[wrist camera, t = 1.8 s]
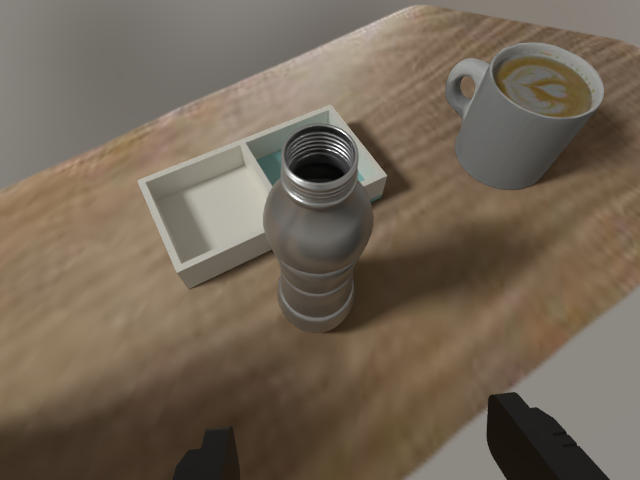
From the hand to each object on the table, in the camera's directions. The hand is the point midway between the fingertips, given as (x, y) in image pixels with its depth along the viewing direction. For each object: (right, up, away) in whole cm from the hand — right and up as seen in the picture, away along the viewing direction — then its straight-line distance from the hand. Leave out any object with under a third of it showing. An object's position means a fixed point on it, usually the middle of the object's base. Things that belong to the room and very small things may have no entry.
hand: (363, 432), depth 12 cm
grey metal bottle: (-2, 0, +24) cm, 24 cm away
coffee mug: (+18, +17, +33) cm, 41 cm away
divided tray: (-7, +10, +29) cm, 31 cm away
